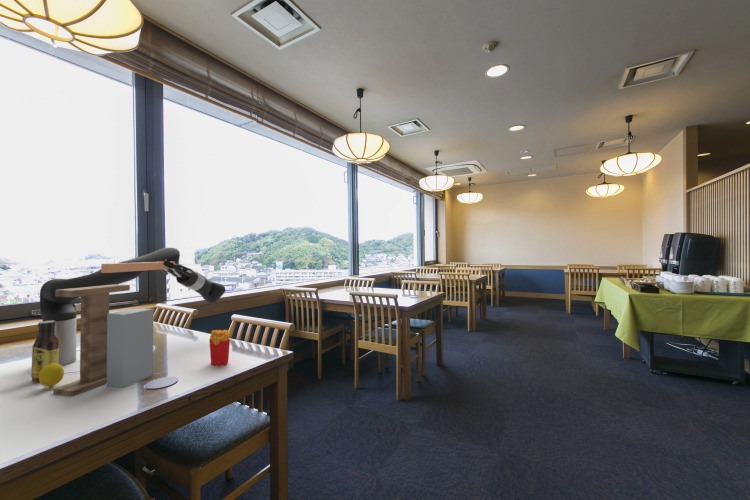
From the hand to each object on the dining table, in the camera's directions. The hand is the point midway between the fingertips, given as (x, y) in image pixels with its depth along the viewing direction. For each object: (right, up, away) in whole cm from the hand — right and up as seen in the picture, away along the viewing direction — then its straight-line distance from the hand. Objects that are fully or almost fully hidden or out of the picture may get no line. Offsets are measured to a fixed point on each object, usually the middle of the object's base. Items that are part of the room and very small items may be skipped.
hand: (161, 261), depth 122 cm
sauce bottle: (-26, -40, -19) cm, 51 cm away
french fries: (+27, -40, -5) cm, 48 cm away
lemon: (-17, -40, -25) cm, 50 cm away
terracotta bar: (-2, -3, -8) cm, 8 cm away
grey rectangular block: (+4, -40, -20) cm, 45 cm away
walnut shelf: (-6, -40, -22) cm, 46 cm away
